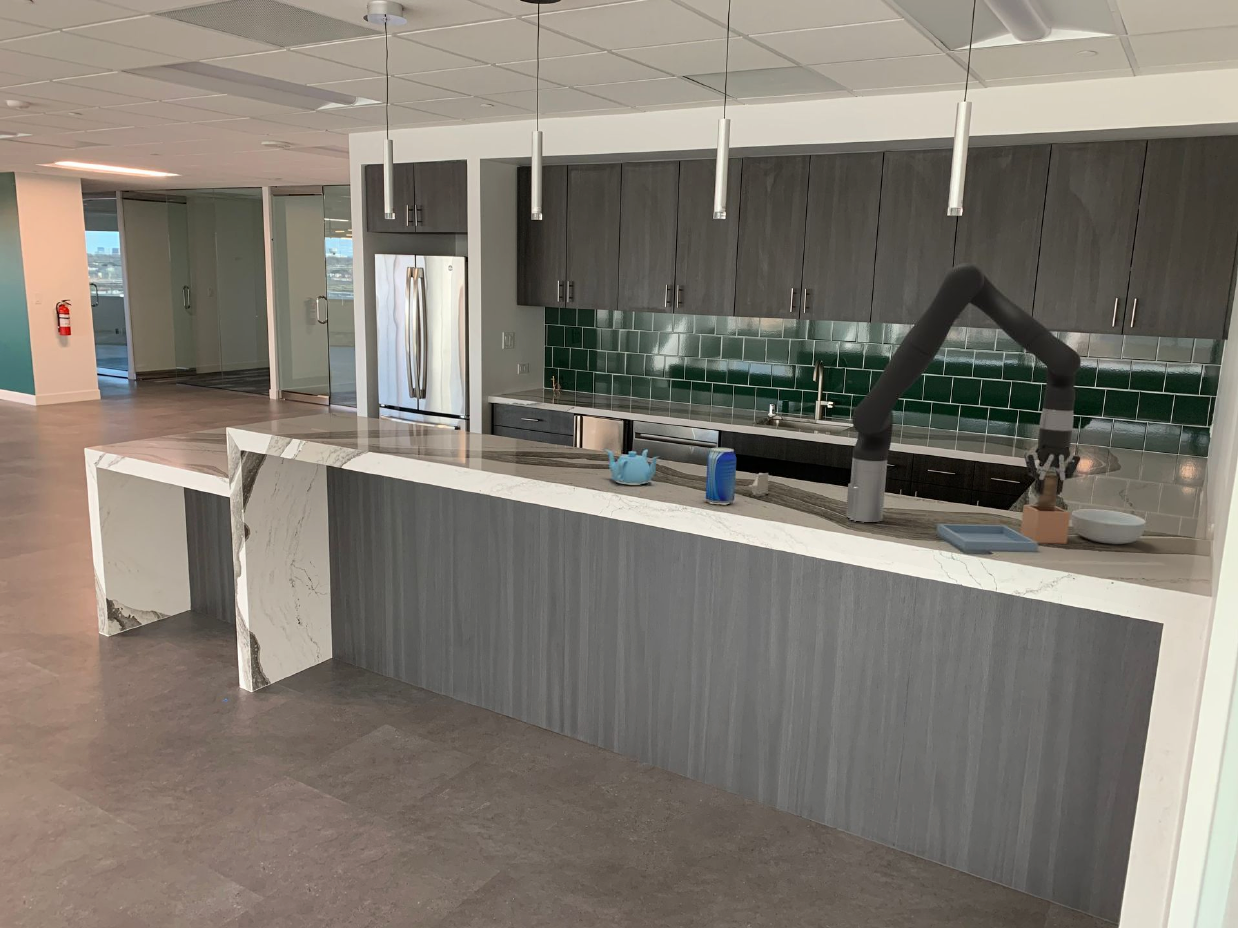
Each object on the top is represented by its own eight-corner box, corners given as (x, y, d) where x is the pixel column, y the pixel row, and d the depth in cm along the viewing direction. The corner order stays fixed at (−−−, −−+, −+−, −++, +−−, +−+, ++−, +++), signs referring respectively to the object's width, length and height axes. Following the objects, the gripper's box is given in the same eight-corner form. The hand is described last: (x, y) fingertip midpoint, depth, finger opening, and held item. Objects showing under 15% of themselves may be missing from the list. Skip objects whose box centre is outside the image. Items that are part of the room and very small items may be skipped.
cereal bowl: (1058, 540, 240) (1062, 514, 239) (1082, 531, 252) (1085, 506, 251) (1130, 554, 229) (1133, 527, 227) (1151, 544, 240) (1154, 517, 239)
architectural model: (747, 497, 285) (748, 473, 284) (760, 494, 291) (761, 470, 289) (756, 499, 283) (758, 475, 282) (769, 496, 288) (770, 472, 287)
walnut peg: (1040, 527, 236) (1046, 477, 234) (1032, 523, 240) (1038, 474, 238) (1055, 527, 236) (1061, 477, 234) (1047, 524, 240) (1053, 474, 238)
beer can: (719, 507, 268) (722, 452, 265) (699, 501, 274) (702, 448, 271) (739, 503, 273) (742, 450, 270) (719, 498, 279) (722, 446, 277)
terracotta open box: (1035, 545, 234) (1038, 511, 233) (1020, 537, 242) (1023, 504, 241) (1066, 546, 235) (1070, 512, 233) (1050, 538, 243) (1054, 505, 241)
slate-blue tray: (964, 553, 225) (965, 541, 224) (936, 535, 242) (937, 523, 242) (1036, 554, 225) (1038, 542, 225) (1003, 536, 243) (1004, 525, 243)
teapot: (614, 487, 291) (615, 455, 290) (603, 478, 306) (604, 447, 304) (659, 487, 295) (660, 455, 293) (646, 478, 309) (647, 447, 307)
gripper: (1035, 428, 229) (1027, 496, 232) (1091, 430, 230) (1082, 497, 233) (1021, 424, 237) (1013, 490, 240) (1075, 426, 237) (1067, 491, 240)
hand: (1047, 493), depth 236 cm, fingers closed on walnut peg, 4 cm apart
